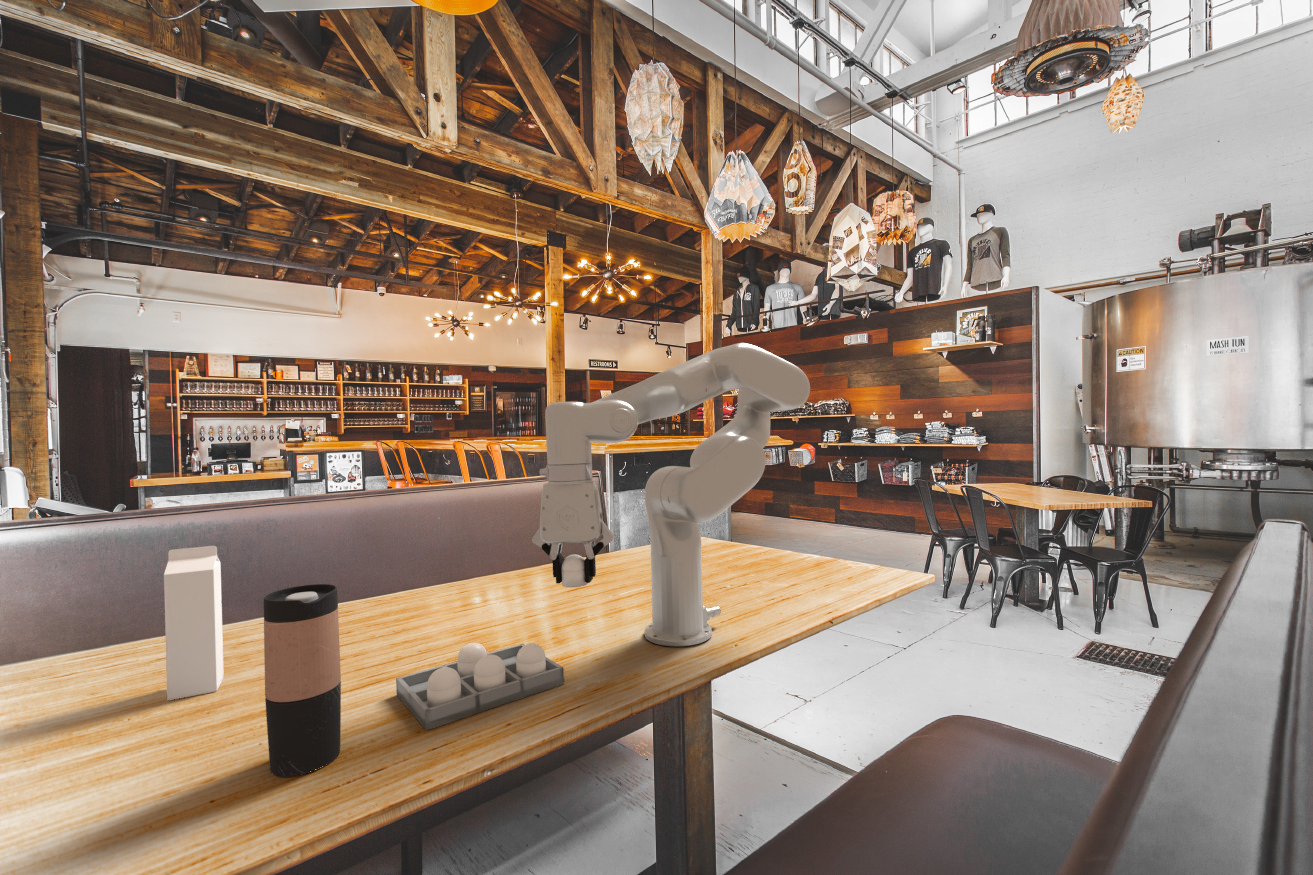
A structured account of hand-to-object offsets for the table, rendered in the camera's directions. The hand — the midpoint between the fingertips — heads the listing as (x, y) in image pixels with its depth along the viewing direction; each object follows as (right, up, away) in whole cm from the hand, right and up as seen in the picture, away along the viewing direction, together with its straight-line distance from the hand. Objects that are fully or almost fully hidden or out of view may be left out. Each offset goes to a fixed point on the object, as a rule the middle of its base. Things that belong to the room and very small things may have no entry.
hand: (574, 579), depth 97 cm
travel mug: (-28, -14, -29) cm, 43 cm away
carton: (-12, -14, -12) cm, 22 cm away
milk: (-58, -15, -9) cm, 60 cm away
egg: (0, -1, 0) cm, 1 cm away
